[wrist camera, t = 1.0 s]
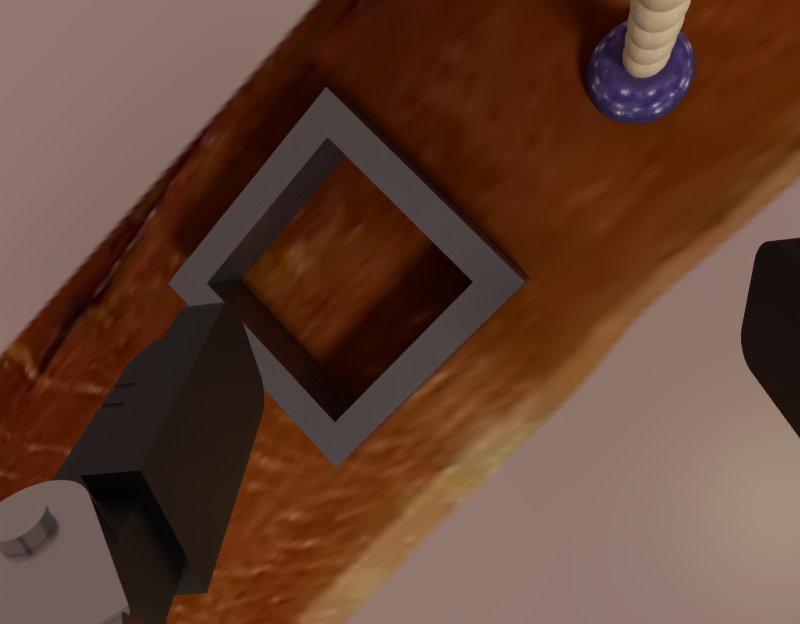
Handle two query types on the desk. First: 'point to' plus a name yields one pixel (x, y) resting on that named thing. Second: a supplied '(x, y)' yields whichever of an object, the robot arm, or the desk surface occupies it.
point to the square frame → (271, 212)
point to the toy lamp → (642, 63)
